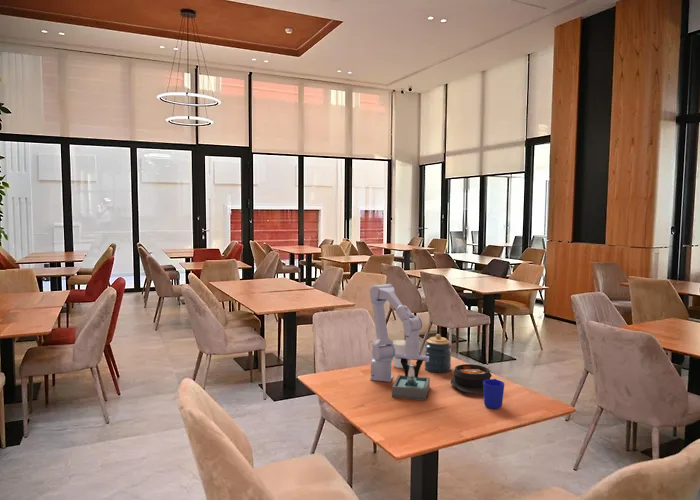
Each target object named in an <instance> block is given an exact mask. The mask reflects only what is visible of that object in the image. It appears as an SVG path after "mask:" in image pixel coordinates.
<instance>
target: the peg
mask: <svg viewBox="0 0 700 500" xmlns="http://www.w3.org/2000/svg"><path fill="white" fill-rule="evenodd" d="M407 384H408V385H416V363H415V364H414V363H410V364H408V365H407Z"/></svg>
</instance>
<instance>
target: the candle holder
mask: <svg viewBox="0 0 700 500" xmlns="http://www.w3.org/2000/svg"><path fill="white" fill-rule="evenodd" d="M392 342H393V345H394V348H395V351H396V353H395V354H405V345H406V339H397V340H392ZM392 361H393V367H394V368H397V369H403V366H402V364H401V359H395V356H394V357H393V360H392ZM408 364H411V360H408V363H407V365H408Z"/></svg>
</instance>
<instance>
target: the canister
mask: <svg viewBox="0 0 700 500" xmlns="http://www.w3.org/2000/svg"><path fill="white" fill-rule="evenodd" d="M450 343H451V341H450V340H448V339H447V338H446V337H442V336H441V334H440V333H436V335H435V336H430V337H429V338H427V339H426V343H425V344H424V347H425V350H424V356H429V362H426V361H424V369H425V371H428V372H431V373H448V372H450V371H451V367H452V364H451V362H452V361H451V360H452V352H451V349H452V345H451V344H450Z"/></svg>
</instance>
